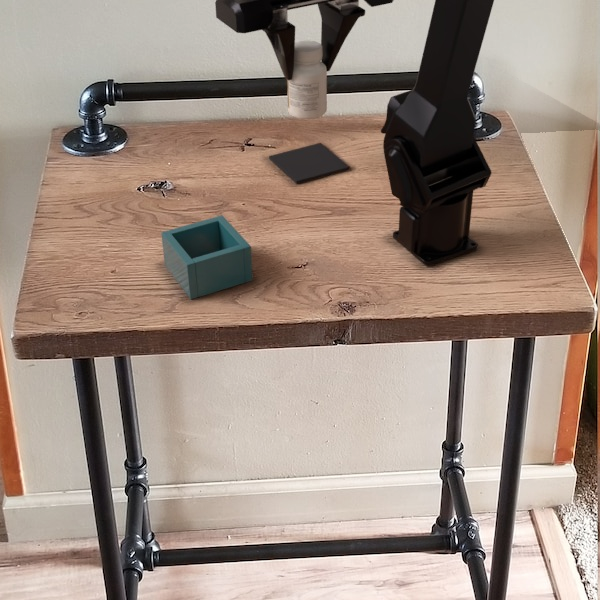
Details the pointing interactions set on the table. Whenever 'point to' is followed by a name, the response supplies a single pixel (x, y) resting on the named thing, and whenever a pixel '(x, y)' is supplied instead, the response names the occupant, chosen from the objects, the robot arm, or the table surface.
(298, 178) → the mat
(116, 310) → the table surface
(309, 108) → the pill bottle
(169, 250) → the holder
